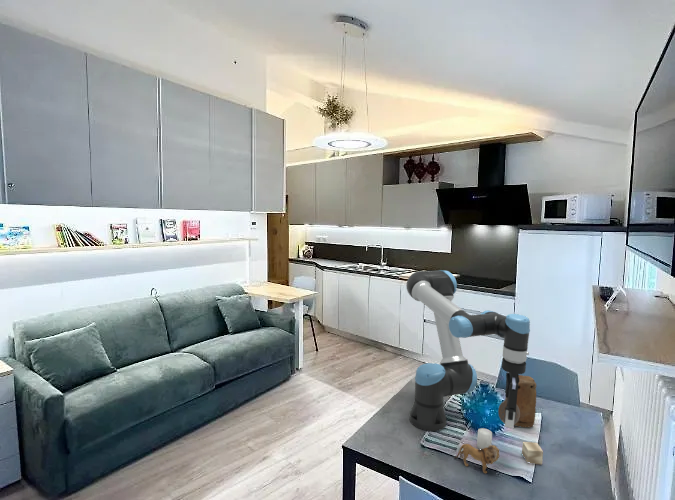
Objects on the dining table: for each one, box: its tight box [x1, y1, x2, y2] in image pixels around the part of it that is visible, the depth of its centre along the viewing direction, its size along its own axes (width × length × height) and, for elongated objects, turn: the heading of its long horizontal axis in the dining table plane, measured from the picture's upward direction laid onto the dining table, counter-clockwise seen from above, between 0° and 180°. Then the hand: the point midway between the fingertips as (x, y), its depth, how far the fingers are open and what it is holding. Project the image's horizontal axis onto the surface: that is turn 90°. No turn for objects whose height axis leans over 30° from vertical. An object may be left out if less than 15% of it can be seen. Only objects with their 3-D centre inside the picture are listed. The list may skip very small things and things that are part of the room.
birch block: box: [521, 441, 544, 465], centre depth 135 cm, size 5×5×5 cm
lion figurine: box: [453, 443, 500, 474], centre depth 131 cm, size 15×5×9 cm, turn 64°
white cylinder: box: [476, 427, 493, 450], centre depth 142 cm, size 5×5×6 cm
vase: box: [497, 397, 520, 424], centre depth 133 cm, size 7×7×9 cm
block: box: [505, 374, 537, 428], centre depth 158 cm, size 11×8×20 cm
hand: (508, 421), depth 134 cm, fingers closed on vase, 7 cm apart
